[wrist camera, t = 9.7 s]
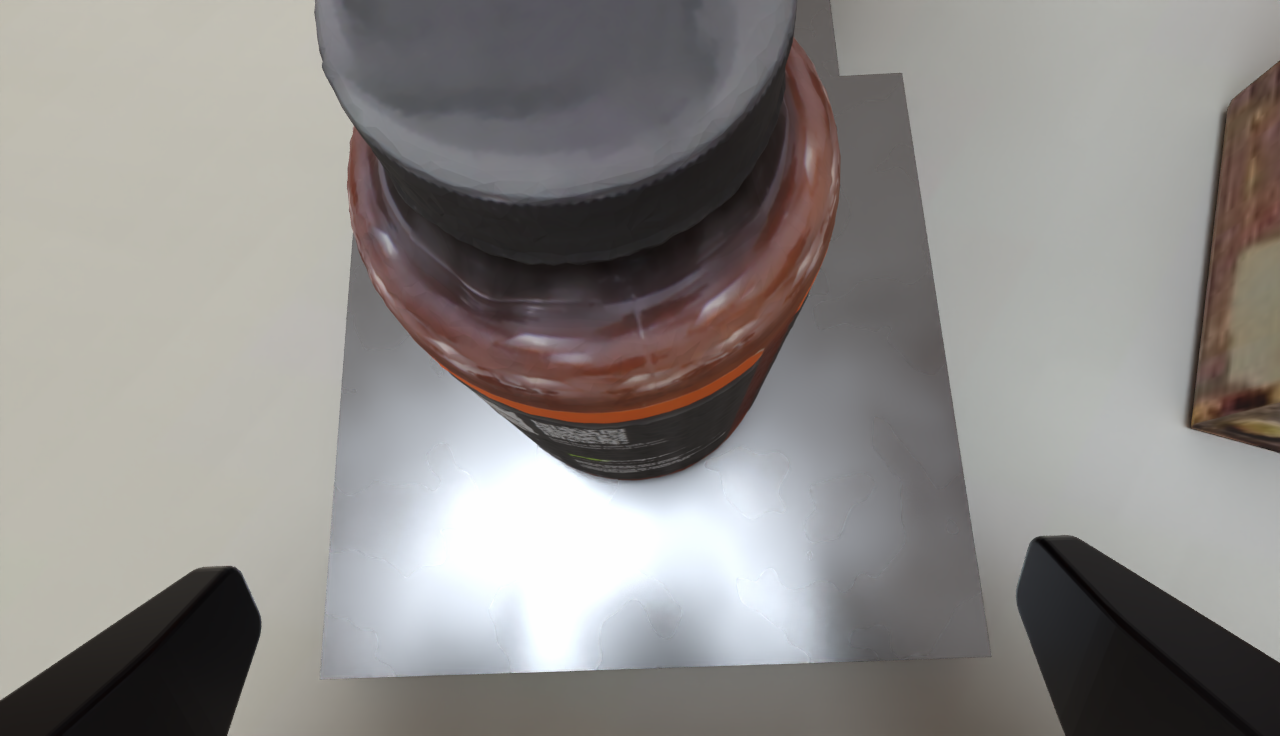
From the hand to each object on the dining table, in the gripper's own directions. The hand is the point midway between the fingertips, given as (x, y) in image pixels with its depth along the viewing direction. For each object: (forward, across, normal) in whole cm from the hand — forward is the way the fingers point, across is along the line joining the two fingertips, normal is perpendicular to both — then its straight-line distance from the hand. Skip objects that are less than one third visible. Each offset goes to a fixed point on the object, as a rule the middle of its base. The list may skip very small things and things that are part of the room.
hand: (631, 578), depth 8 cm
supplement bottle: (+9, 0, +2) cm, 9 cm away
